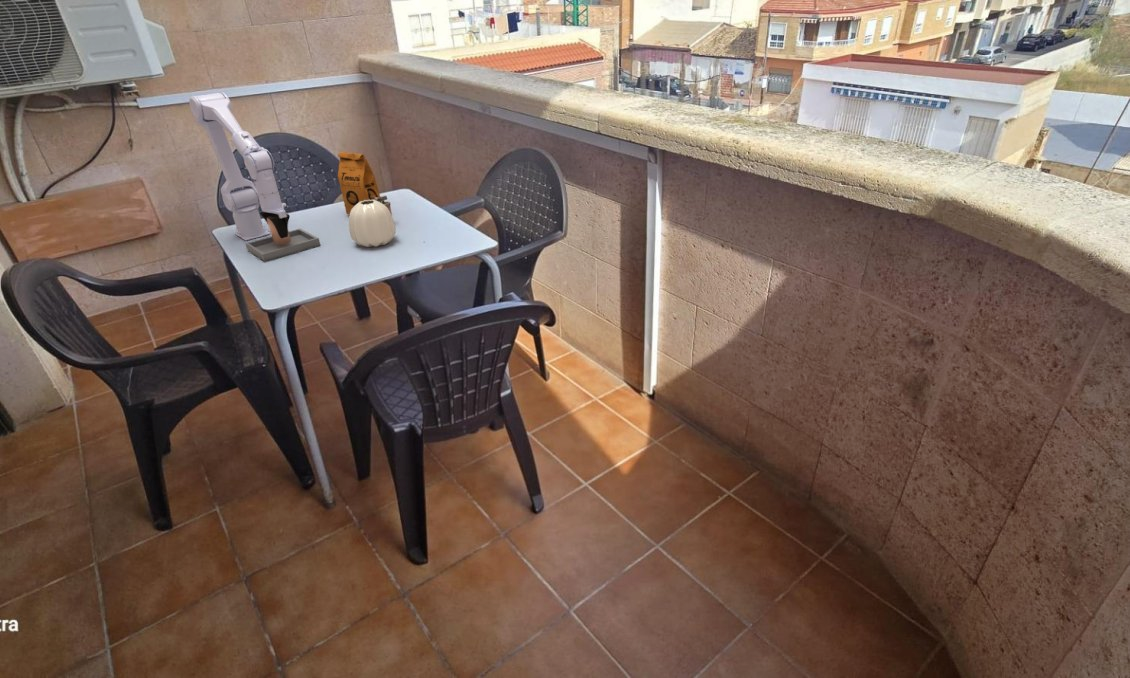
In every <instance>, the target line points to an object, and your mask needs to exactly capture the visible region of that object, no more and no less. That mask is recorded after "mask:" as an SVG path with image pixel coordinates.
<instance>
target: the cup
mask: <svg viewBox="0 0 1130 678" xmlns="http://www.w3.org/2000/svg"><path fill="white" fill-rule="evenodd" d="M273 216H275V215H273ZM269 217H272V216H269ZM267 222H268V224H267V226H268V228H269V231H270V232H269V233H270V234H271V236H272V238H273V241H274V244H276V245H282V244H287V243H289V242H291V238H290V235H289V231H290V230H288V237H285V238H280V236H279V234H278V232H277V230H276V228H275V226H274V224H273V223H272V221H271V220H270V219H269V218H268V217H267ZM267 222H266V223H267Z"/></svg>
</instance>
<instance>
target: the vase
mask: <svg viewBox="0 0 1130 678" xmlns="http://www.w3.org/2000/svg"><path fill="white" fill-rule="evenodd" d="M391 213H392V212H391ZM391 213H390V211H389V209H388V208H387V207H386V206H385V205H384V204H382V203H380V202H378V201H376V200H364V201H361V202H359V203H357V204H356V205H355V206H354V207H353V208H352V209H351V212H350V214H349V216H348V228H349V229H348V231H349V235H350V238H351V240H352V241H354V242H355V243H356V244H358V245H359V246H361V247H366V248H371V247H376V248H377V247H379V246H384V245H385V246H386V244H387V243H390V242H391V241H392V240H393V238H394V237H395V235H396V232H397V231H396V224H395V220H394V217H393V214H392V215H391Z"/></svg>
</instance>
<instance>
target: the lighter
mask: <svg viewBox="0 0 1130 678" xmlns="http://www.w3.org/2000/svg"><path fill="white" fill-rule="evenodd" d="M374 200H376V201H378V202H380V203H382V204H384V205H385V206H386V207H387V208H388V209H389V211H390V213H391V215H392V216H393V214H392V208H391V201H386V200H388V196H387V195H382V196H381V195H380V198H377V197H375V198H374Z"/></svg>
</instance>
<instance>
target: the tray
mask: <svg viewBox="0 0 1130 678" xmlns="http://www.w3.org/2000/svg"><path fill="white" fill-rule="evenodd" d="M288 231H289V235H290V238H291V242H289V243H287V244H282V245H276V244H274V241H273V238H272V235H271V236H268V237H267V236H266V237H264V238H260V239H257V240H252V241H249V242H246V243H245V247H246V250H247V251H248V252H249V253H250V254H252V255H253V256H255V257H256V258H258V259H259V260H261V261H263V262H264V263H266V262H267V263H268V262H271V261H275V260H278V259H282V258H283V257H284V258H285V257H287V256H290V255H294V254H297V253H301V252H304V251H308V250H311V249H314V248H317V246H318V247H321V242H320V238H319V237H317V236H316V235H314V234H311V233H309V232H308V231H306V230H304V229H302V228H297V229H293V230H288Z"/></svg>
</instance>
